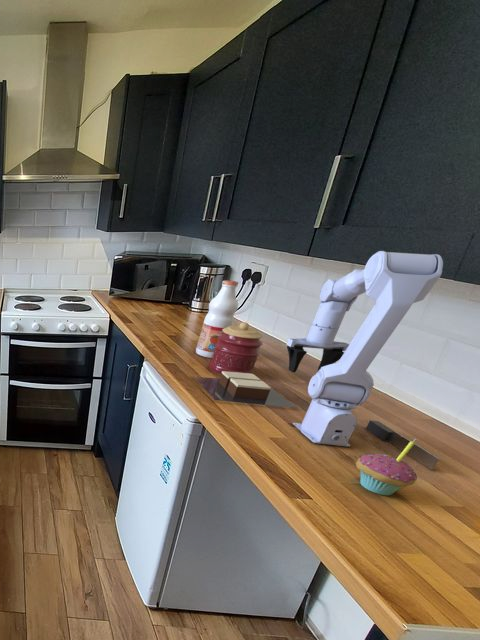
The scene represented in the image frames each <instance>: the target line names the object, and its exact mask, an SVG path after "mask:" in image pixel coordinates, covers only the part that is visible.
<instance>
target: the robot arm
mask: <svg viewBox="0 0 480 640" xmlns="http://www.w3.org/2000/svg"><path fill="white" fill-rule="evenodd" d="M443 267H444V260H443V258H442V256H441V255H440V254H438V253H437V254H436V253H434V254H433V253H432V254H425V253H410V252H409V253H408V252H391V251H390V252H389V251H386V250H379V251H377V252H375V253H374V254H372V256H370V257H369V259H368V260H367V262H366V263H365V266H364V269H360V268H355V269H353V271H351V272H349V273H347V274H346V275H344V276H342V277H341V278H339V279H337V280H336V279H335V280H334V279H331V278H329V279H327V280H326V281H325V282H324V284H323V286H322V287H321V289H320V292H319V301H320V303H319V306H318V308H317V310H316V313H315V316H314V317H313V320H312V323H311V326H310V328H309V330H308V333H307V336H306V337H304V338H303V337H302V338H300V337H299V338H289V337H288V339H287V340H286V341H287V342H286V344H285V345H286V349H287V352H288V371H290V372H291V373H296V372H297V371H298V368H299V366H300V364H301V361H302V360H303V359H304V357H305V355H307V354H308V351H306V350H305V348H309V349H321V350H322V356H321V360H320V363H319V365H318V368H317V372H316V373H315V374H314V375H313V376H312V377H311V378H310V380H309V383H308V386H307V392H308V393H307V394H308V395H309V397H310V398H311V401H310V404H309V405H308V408H307V411H306V413H305V415H304V417H303V420H302V422H301V423H300V422H292V425H294V426H295V427H296V428H297V429H298V431H299V432H300V433H302V435H304V436H305V437H306V438H307V439H309V440H310V441H311V442H312V443H314V444H317V445H318V444H320V445H329V446H330V445H331V446H339V447H349V448H350V447H351V444H350V443H349V441H350V438H351V436H353V435H352V434H353V432H354V431H355V429H356V427H357V424H358V422H357V421H358V420H357V418H356V416H355V415H354V414H353V413H352V410H355V409H356V407H358V406H361V405H363V404H364V403H366V402H367V400H368V399H369V397H370V394H371V391H372V389H373V387H374V385H375V384H374V379H373V378H374V377H373V376H372V375H371V374H370V372H368V371H367V370H368V368H369V367H370V366H371V364H372V363H373V361H374V360H375V358H376V357H377V356H378V354H379V353H380V351H382V348H383V347H384V346H385V344H386V343H387V341H388V340H389V339H390V337H391V336H392V334H393V333H394V332H395V330H396V329H397V327H398V325H400V323H401V322H402V320H403V319H404V317H405V316H406V314H407V313H408V312H409V310H410V309H411V307H412V306H413V304H415V303H418V302H421V301H423V300H424V299H426V296H427V295H429V293H430V292H431V290H432V289H433V288H434V286H435V285H436V283H437V282H438V281H439V279H440V278H441V276H442V273H443ZM363 294H366V296H368V297H369V298H371V299H372V300H373V301H375V304H374V305H373V307H372V309H371V310H370V312H369V313H368V315H367V316H366V317H365V320H364V321H363V322H362V324H361V326H360V327H359V328H358V331H356V334H355V335H354V337H353V338H352V340H351V341H350V343H347V342H344V341H335V339H336V336H337V334H338V332H339V329H340V327H341V325H342V322H343V320H344V317H345V315H346V313H347V312H349V311H350V310H351V308H352V306H353V304H354V303H355V302H356V301H357V299H358V297H359V296H360V295H363Z"/></svg>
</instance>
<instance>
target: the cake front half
mask: <svg viewBox="0 0 480 640" xmlns="http://www.w3.org/2000/svg"><path fill="white" fill-rule="evenodd" d="M269 386H270V385H268V384H267V383H266V382H264V381H263V380H260V381H254V380H242V379H230V382H229V385H228V388H227V391H228V392H229V393H230V394H231V395H232V396H233V397H239V398H250V399H261V400H267V397H268V395H269V392H270V389H271V388H272V387H271V386H270V387H269Z"/></svg>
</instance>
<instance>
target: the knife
mask: <svg viewBox="0 0 480 640" xmlns="http://www.w3.org/2000/svg"><path fill="white" fill-rule="evenodd" d="M365 430H367V431H368V432H370V433H371V434H373V435H375V436H376V437H377V438H379V439H381V440H382V441H383V442H388V443H389V444H391V445H393V446H394V447H396V448H397V449H399V450H400V451H403V450H404V449H405V448H406V446H407V445H408V444H409V443H410V442H413V440H411V439H409V438H407V437H406V436H404V435H402V434H401V433H400V432H397V431H395V430H393V429H391V428H390V427H389V426H387V425H386V424H384V423H382V422H381V421H379V420H369V422H368V424H367V425H366V427H365ZM406 455H407V456H409V457H411V458H413V460H415V461H417V462H419V463H420V464H421V465H423V466H425V467H426V468H428V469H429V470H431V471H433V470H434V469H435V467H436V465H437V464H438V463H439V461H440V458H439V457H438V456H437V455H434V454H433V453H431V452H430V451H427V449H425V448H423V447H422V446H420V445H418V444H417V443H415V444H414V445H413V446H412V448H411V449H410V450H409V451H408V453H407V454H406Z"/></svg>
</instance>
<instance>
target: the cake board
mask: <svg viewBox="0 0 480 640" xmlns="http://www.w3.org/2000/svg"><path fill="white" fill-rule="evenodd" d="M193 378H194V380H195V381H196V382H197V383H198V384H199V385H200V386H201V387H202V388H203V389H204V390H205V391H206V392H207V394H209V395H210V397H211V398H212V399H213V400H214V401H216V402H217V401H219V402H227V403H239V404H248V405H249V404H250V405H260V406H271V407H282V408H293V409H298V406H296V405H295V404H293V403H292V402H291V401H290V400H288V399H287V398H286V397H284V396H283V395H282V394H280V393H279V392H278V391H277V390H275V389H274V388H273V387H271V386H270V385H268V386H269V387H271V389H270V392H269V395H268V397H267V400H261V399H250V398H239V397H233V396H232V395H231V394H230V393H229V392H228V391H227V389H225V388H224V387H223V386H222V385H221V384H220V383H219V380H220V378H216V377H214V378H213V377H205V376H203V377H202V376H193Z"/></svg>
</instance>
